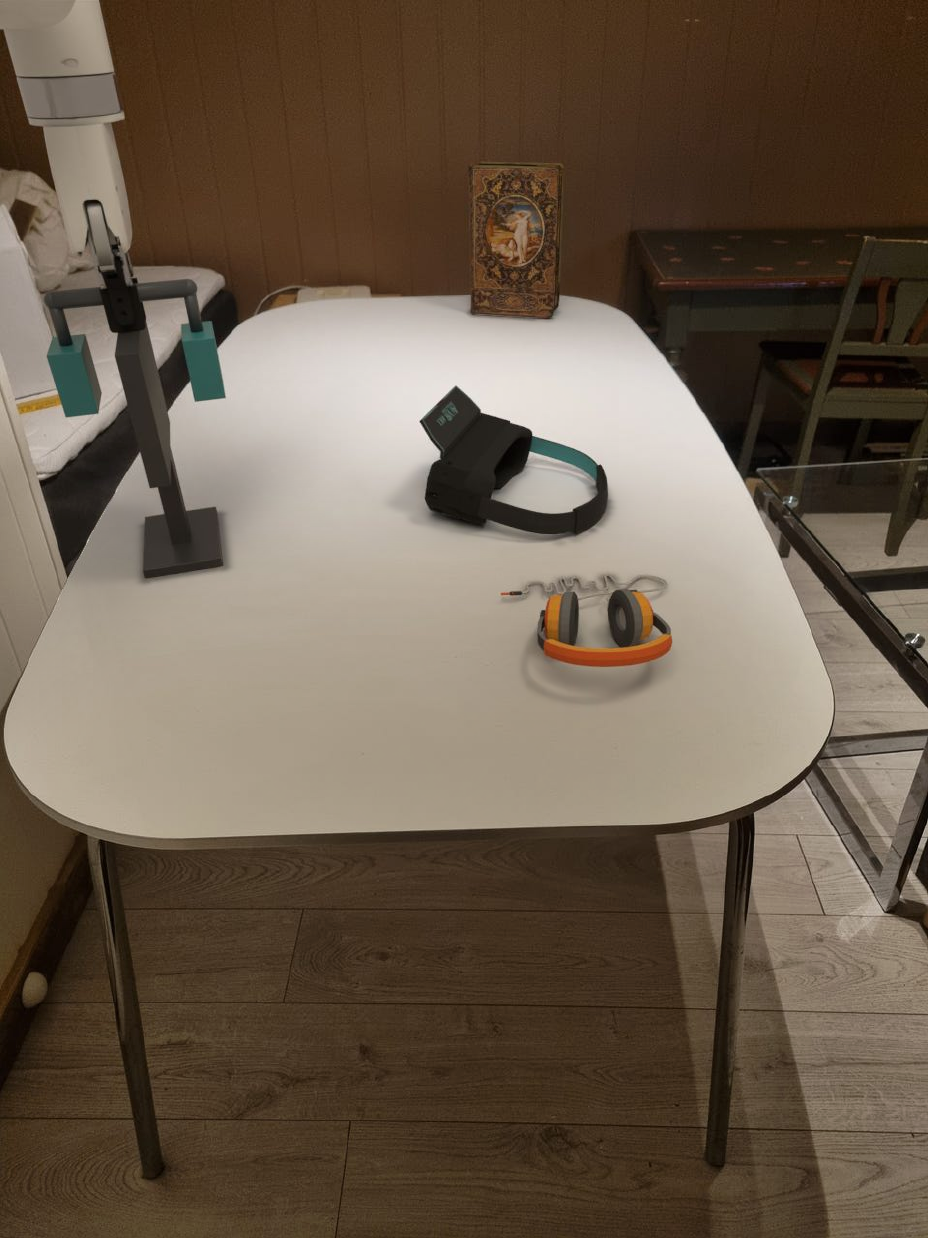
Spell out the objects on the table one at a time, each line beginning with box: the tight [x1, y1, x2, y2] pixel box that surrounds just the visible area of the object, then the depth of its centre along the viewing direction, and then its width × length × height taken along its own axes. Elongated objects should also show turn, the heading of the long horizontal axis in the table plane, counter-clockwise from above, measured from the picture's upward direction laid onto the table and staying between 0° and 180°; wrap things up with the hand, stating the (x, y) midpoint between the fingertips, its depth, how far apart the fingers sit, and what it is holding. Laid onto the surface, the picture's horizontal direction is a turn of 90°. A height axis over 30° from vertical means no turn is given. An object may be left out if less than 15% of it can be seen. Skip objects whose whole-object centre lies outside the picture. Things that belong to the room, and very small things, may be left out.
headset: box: [43, 278, 227, 419], centre depth 82 cm, size 15×6×11 cm, turn 106°
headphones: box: [500, 573, 673, 668], centre depth 79 cm, size 17×5×20 cm
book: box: [467, 161, 565, 319], centre depth 155 cm, size 16×6×25 cm, turn 74°
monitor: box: [114, 320, 224, 579], centre depth 88 cm, size 8×16×24 cm, turn 16°
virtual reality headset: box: [418, 385, 609, 536], centre depth 99 cm, size 19×22×10 cm
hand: (128, 325), depth 81 cm, fingers closed on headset
